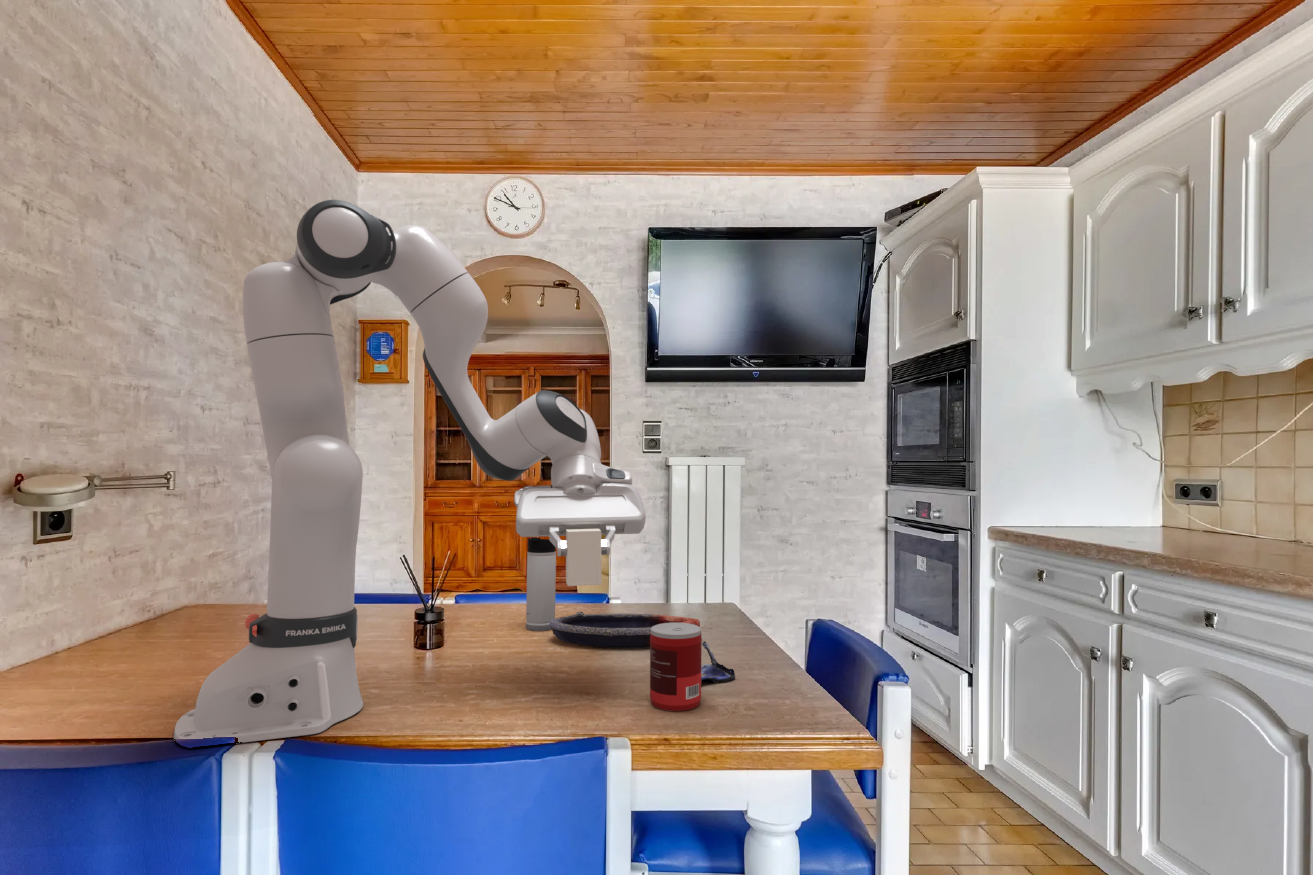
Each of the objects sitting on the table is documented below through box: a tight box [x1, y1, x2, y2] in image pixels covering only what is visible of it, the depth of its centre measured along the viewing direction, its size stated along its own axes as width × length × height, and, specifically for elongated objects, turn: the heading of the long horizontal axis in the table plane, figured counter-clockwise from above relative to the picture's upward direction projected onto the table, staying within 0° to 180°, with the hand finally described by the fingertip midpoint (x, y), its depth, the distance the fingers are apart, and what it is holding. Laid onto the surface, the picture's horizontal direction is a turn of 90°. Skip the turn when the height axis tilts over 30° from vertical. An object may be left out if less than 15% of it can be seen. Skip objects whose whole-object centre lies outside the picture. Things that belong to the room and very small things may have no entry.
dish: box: [549, 611, 701, 649], centre depth 137 cm, size 16×31×5 cm, turn 88°
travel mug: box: [525, 536, 557, 632], centre depth 148 cm, size 6×7×20 cm
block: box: [565, 528, 603, 587], centre depth 102 cm, size 4×5×8 cm
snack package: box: [701, 640, 736, 684], centre depth 114 cm, size 12×6×12 cm
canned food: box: [649, 623, 703, 712], centre depth 100 cm, size 8×8×11 cm
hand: (584, 553), depth 101 cm, fingers closed on block, 5 cm apart
